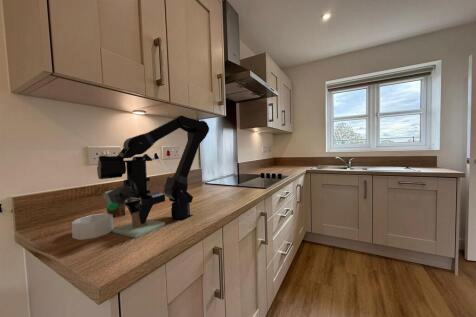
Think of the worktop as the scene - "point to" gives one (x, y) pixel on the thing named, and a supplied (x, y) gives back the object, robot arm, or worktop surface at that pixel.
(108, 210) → the food container
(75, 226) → the bowl
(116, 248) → the worktop surface
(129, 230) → the lid
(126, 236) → the mat
